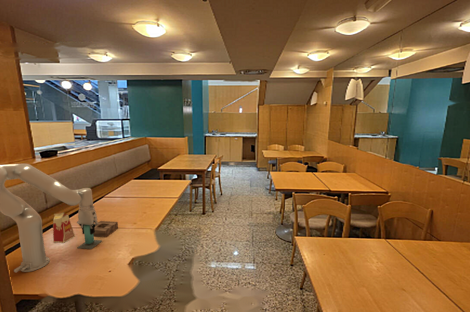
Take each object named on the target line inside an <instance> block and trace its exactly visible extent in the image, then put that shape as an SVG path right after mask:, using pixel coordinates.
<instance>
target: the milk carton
mask: <svg viewBox="0 0 470 312" xmlns="http://www.w3.org/2000/svg"><path fill="white" fill-rule="evenodd" d="M53 215H54V217H53V224H52V238H53V241H52V242H53V243H61V244H65V243H66V242H68V241H70V240H72V239H73V238H75V237H76V235H75V231H74V229H73V228H74V227H73V225H72V223H71V220H70V216H69V214H67V213H65V212H59V213H54V214H53Z"/></svg>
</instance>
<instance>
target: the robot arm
mask: <svg viewBox="0 0 470 312" xmlns="http://www.w3.org/2000/svg"><path fill="white" fill-rule="evenodd" d="M10 180H11V181H12V180H20V181H22V182H24V183H26V184H28V185H30V186H32V187H34V188H36V189H37V190H39V191H41V192H43V193H44V194H46V195H49V196H51V197H53V198H55V199H56V200H59V201H61V202H62V203H65V204H67V205H68V206H71V207H72V206H77V205H78V213H77V214H78V215H77V218H78V219H77V222H76V224H77V225H79V227H80V228H81V233H82V234H83V235H84V227H83V226H84V225H85V224H86V225H90V228H91V229H90V234H91V235H92V234H93V233H95V228H94V227H95V226H96V225H97V224H99V223H98V222H99V221H98V215H97V212H96V209H95V205H94V201H93V199H94V198H93V191H92V188H90V187H83V188H80V189H71V188H69V187H67V186H65V185H64V184H62V183H61V182H60V181H59V180H57V179H56V178H54V177H52V176H50V175H48V174H47V173H45V172H43V171H42V170H41V169H38V168H36V167H35V166H33V165H31V164H30V163H13V164H0V213H2V215H4V216H6V217H9V218H11V219H12V220H13V221H14V222H15V223H16V226H17V228H18V238H19V243H20V251H21V256H22V261H21V262H20V265H19V266H17V267H16V268H14V269H13V272H14V273H18V272H19V271H20V272H22V273H29V272H34V271H37V270H40V269H41V268H44V267H45V266H47V265H48V264H49V263H50V261H51V259H50V257H49V256H46V247H45V240H44V235H43V220H42V216H41V215H40V213H38V212H37V210H35V209H34V208H33V207H32V206H31V205H30V204H28V203H27V202H26V201H25V200H24V199H23V198H22V197H20V196H18V195H15V194H14V193H12V192H11V191H10V190H9V189H8V188H7V187H6V186H5V183H6V181H10ZM92 225H93V226H92Z"/></svg>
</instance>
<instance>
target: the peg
mask: <svg viewBox="0 0 470 312" xmlns="http://www.w3.org/2000/svg"><path fill="white" fill-rule="evenodd" d="M92 226H93V225H92ZM83 227H84V234H83V236H84V242H85V244H91V243H93V242H94V240H95V238H94V235H93V234H92V235H91V234H90V229H91V228H90V225H86V224H85V225H84V226H83Z"/></svg>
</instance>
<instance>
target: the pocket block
mask: <svg viewBox="0 0 470 312" xmlns="http://www.w3.org/2000/svg"><path fill="white" fill-rule="evenodd" d="M98 223H99V224H97V225H96V226H95V227H94V228H95V233H93V235H94V237H95V238H108V237H109V236H110V235H111V234H112V233H113V232H115V231H116V230H118V228H119V222H118V221H111V220H110V221H109V220H99V221H98Z"/></svg>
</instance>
